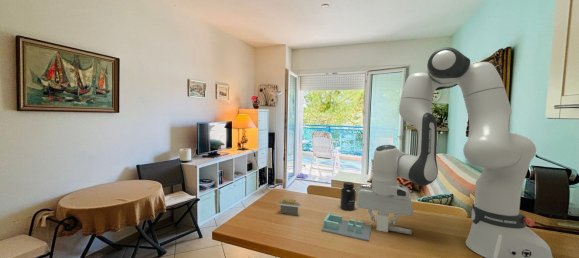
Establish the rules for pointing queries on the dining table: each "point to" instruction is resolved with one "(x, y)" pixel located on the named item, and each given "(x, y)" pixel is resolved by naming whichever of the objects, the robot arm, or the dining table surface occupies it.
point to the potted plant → (289, 207)
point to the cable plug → (383, 225)
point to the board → (346, 227)
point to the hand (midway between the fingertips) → (382, 221)
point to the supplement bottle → (348, 196)
